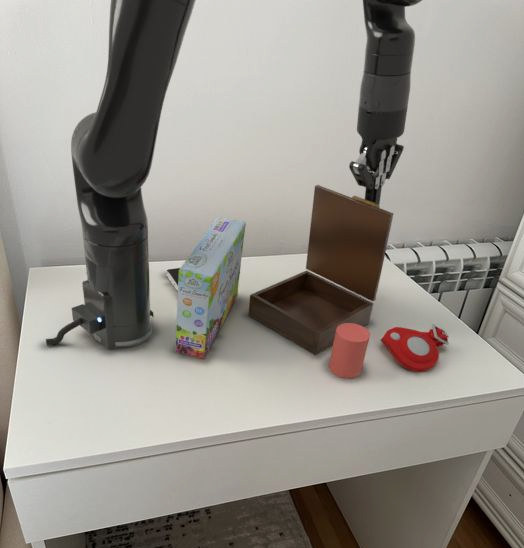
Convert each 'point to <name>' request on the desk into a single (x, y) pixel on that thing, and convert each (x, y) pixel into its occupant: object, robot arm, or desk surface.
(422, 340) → the red rounded piece
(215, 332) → the snack box
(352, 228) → the lid
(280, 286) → the chest
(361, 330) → the pink cylinder
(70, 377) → the desk surface
